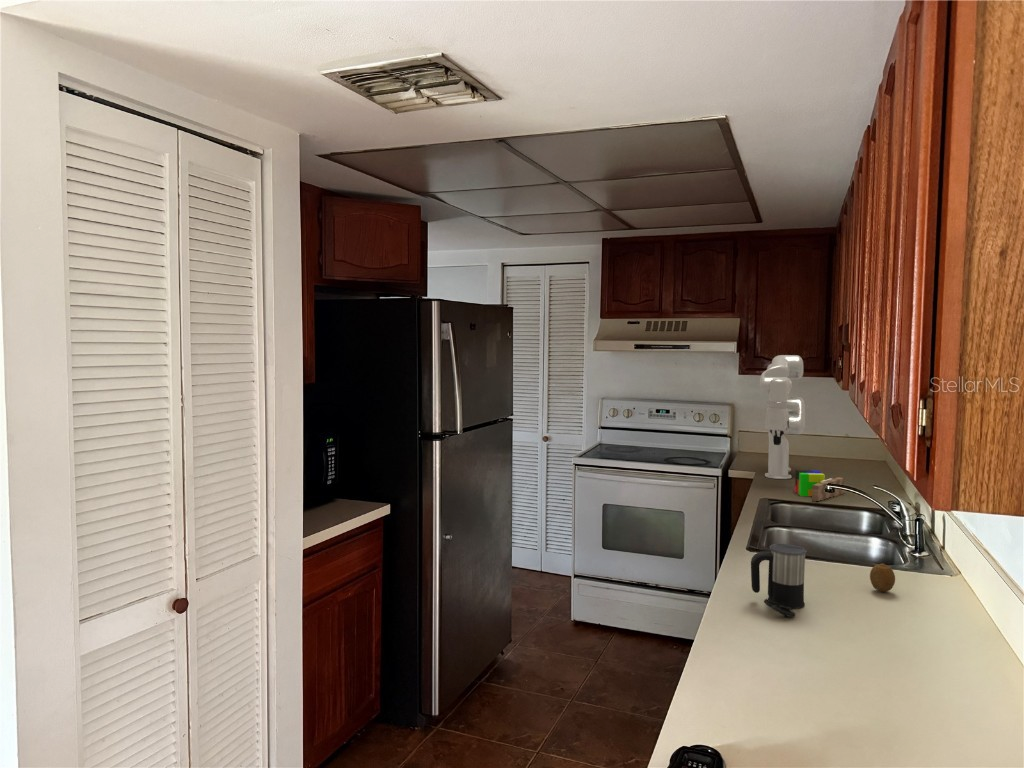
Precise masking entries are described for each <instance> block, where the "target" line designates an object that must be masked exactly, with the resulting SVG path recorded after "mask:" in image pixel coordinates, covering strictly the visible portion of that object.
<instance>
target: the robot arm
mask: <svg viewBox="0 0 1024 768" xmlns="http://www.w3.org/2000/svg"><path fill="white" fill-rule="evenodd" d="M803 376H804V360H803V359H802V357H801V356H800V355H797V354H796V355H795V354H792V355H791V354H790V355H789V354H785V355H784V354H781V355H776V356H774V358H772V360H771V363H770V364H768V366H767V368H766V370H764V371H763V372H762V373H761V375H760V379H759V390H760V391H761V392H762V393H765V394H769V401H767V402H766V405H767V406H768V407H767V409H766V413H765V421H764V427H765V430H766V432H768V458H767V459H768V465H767V468H768V469H767V470H768V471H767V472H765V473H764V477H765V478H769V479H774V480H776V479H777V480H789V479H791V478H792V475H791V474H789V472H791V471H792V468H791V467H789V457H790V456H789V455H790V451H789V450H790V449H789V448H790V443H789V441H788V439H787V437H786V436H785V435H802V434H803V433H804V431H805V427H806V405H805V400H804V399H803V397H800V396H790V392H791V390H792V387H793V382H792V380H800V379H802V378H803Z"/></svg>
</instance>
